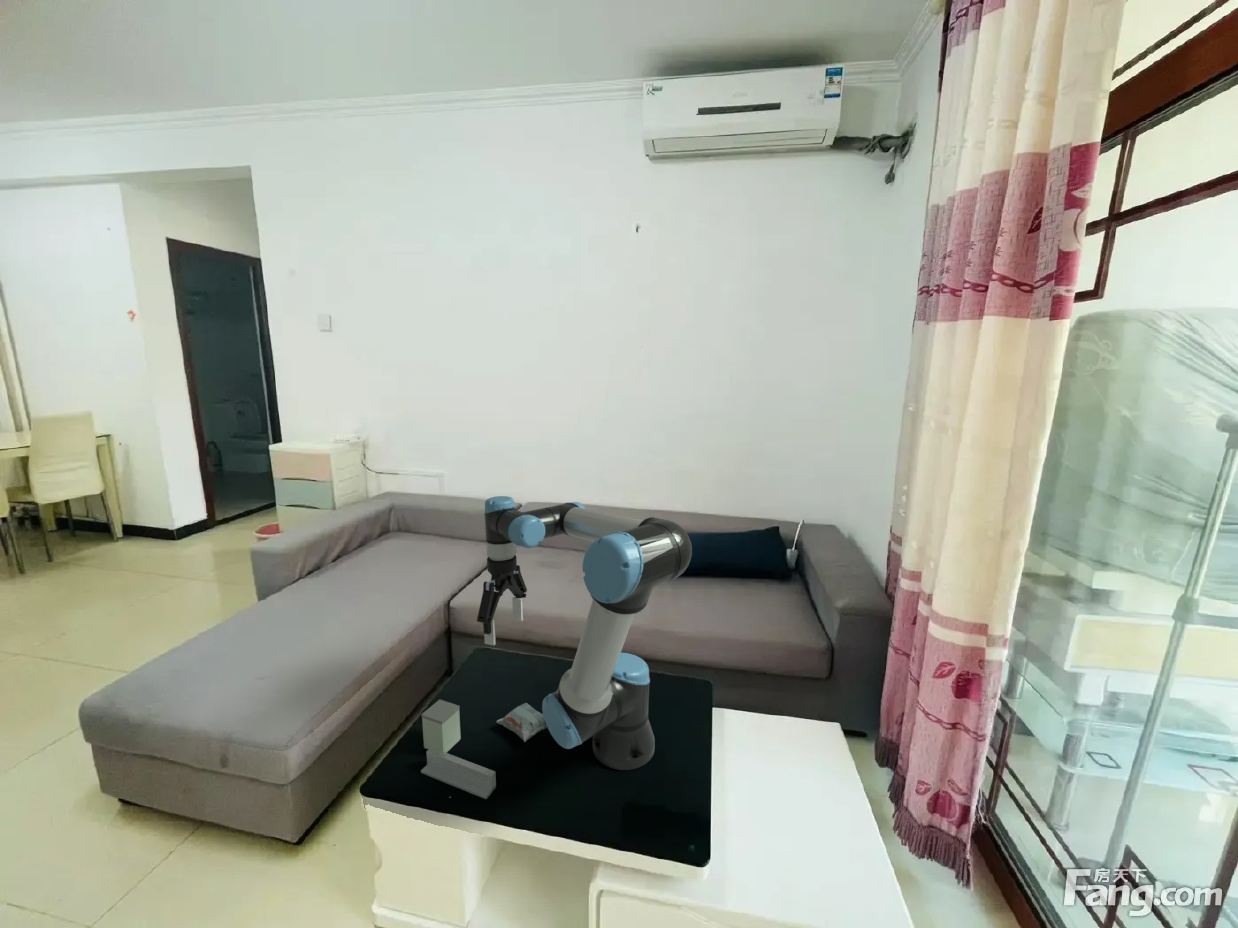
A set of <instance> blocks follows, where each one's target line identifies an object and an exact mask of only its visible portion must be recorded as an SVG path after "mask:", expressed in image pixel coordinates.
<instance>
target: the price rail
mask: <svg viewBox="0 0 1238 928" xmlns="http://www.w3.org/2000/svg"><path fill="white" fill-rule="evenodd" d="M420 773H421V774H422V775H426V776H427V777H430V778H433V779H435V780H437V781H440V782H442V783H444V784H447V785H449V786H452V787H454V788H457V789H460V790H462V791H464V792H466V793H469V794H471V795H474V796H476V797H480V798H482V799H484V800H487V799H488V798H489V797H490V795H491V794H492V793H493V791H495V789H496V788H497V779H496V771H495V770H493V769H491V768H490V769H489V768H487V767H485V766H482V765H479V764H477V763H474V762H471V761H468V760H466V759H463V758H461V757H459V756H457V755H453V754H450V753H448V752H447V753H445V752H443V751H440V750H437V749H435V748H432V747H431V748H430V749H429V750H428V749H427V750H426V766H424V767H423V768H422V769H421V770H420Z"/></svg>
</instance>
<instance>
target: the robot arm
mask: <svg viewBox="0 0 1238 928" xmlns="http://www.w3.org/2000/svg"><path fill="white" fill-rule="evenodd" d="M483 515H484V525H485V528H484V529H485V541H486V542H485V543H486V556H487V558H486V566H487V567H486V569H487V572H488V573H489V574H490V575H491V576H490V577H491V578H490V580H489V581H484V582H483V584H482V585H483V587H482V589H483V591H482V595H481V600H480V605H479V609H478V614H477V618H476V622H478V623H481V624H483V625H482V627H483V634H484V638H483V639H484V644H485V645H490V646H495V645H496V629H495V628H496V626H495V625H496V623H495V620H494V619H493V618H494V615H495V614H496V610H497V607H498V604H499V601H500V598H501V597H503V595H504V592H505V591H506V590H509V591H510V592H511V594H512V595H513V597H512V598H511V599H512V601H511V602H512V621H517V622H523V621H524V614H523V613H524V612H523V611H524V610H523V609H524V608H523V599H526V597H527V594H526V593H527V591H528V589H527V586H526V583H525V581H524V578H523V575H522V573H521V566H520V565H519V564H517V563H518V561H517V555H516V554H517V546H518V547H520V546H521V548H527V549H532V548H535V547H537V546H538V545H539V544H541V543H542V542H543V540H545V539H548V538H551V537H552V538H553V537H556V536H560V535H561V536H562V535H566V536H569V537H574V538H577V539H581V540H585V541H588V542H591V543H590V545H589V546H588V548H587V549H586V551H585V553H584V557H583V559H582V560H583V561H582V572H583V573H584V576H583V582H584V584H585V587H586V589H587V591H588V592H589V595H590V597H591V599H592V602H591V604H590V608H589V611H588V615H587V617H586V621H585V623H584V626H583V629H582V634H581V637H580V640H579V644H578V646H577V650H576V653H575V656H574V660H573V662H572V666H571V668H569V669H567V671H565V672H564V674H563V675H562V677H561V678H560V681H559V684H558V687H557V690H556V691H554V692H552V693H549V694H548V695H547V696H544V698H543V700H542V704H541V705H542V707H541V709H542V714H543V716H544V719H545V722H546V725H547V729H548V731H549V733H550V735H551V736H552V738H553V740H554V741H555V742H556V743H557V744H558V745H559V746H561V747H562V748H564V749H566V750H570V749H573V748H574V747H577V746H579V745H580V746H581V745H582V744H583V743H584V742H585V741H587V740H589V739H591V738H592V752H593V754H594V756H595V758H596V759H597V760H598V761H599V762H600V763H601V764H602V765H604V766H606V767H608V768H611V769H614V770H617V771H618V770H619V771H630V770H636V769H638V768H641V767H643V766H645V765H646V764H647V763H648V762H649V761H651V759H652V758H653V756H654V753H655V748H656V747H655V746H656V745H655V743H656V742H655V741H656V740H655V736H654V733H653V729H652V726H651V723H650V720H649V705H650V703H649V702H650V683H651V678H650V668H649V666H648V664H647V662H646V661H645V660H644V659H643V658H641V657H639V656H637V655H635V654H632V653H628V652H627V653H626V652H622V650H623V647H624V645H625V642H626V640H627V636H628V633H629V630H630V628H631V626H632V623H633V619H634V617H635V615H637V614H639V613H642V611H644V610H645V608H646V607H647V604H648V602H649V599H650V597H651V594H652V592H653V590H654V589H655V588H656V587H657V586H660V585H662V584H665V583H668V582H670V581H673V580H675V579H677V578H678V577H680V576H681V575H682V574H684V573H685V571H686V570H687V568H688V567H689V564H690V562H691V560H692V556H693V546H692V542H691V539H690V536H689V534H688V533H687V531H686V530H685V529H684V528H683V527H682V526H681V525H680V524H678V523H676V522H675V521H671V520H668V519H664V518H658V517H653V516H649V517H645V518H644V519H638V518H633V517H628V516H623V515H620V514H619V515H618V514H614V513H609V512H604V511H599V510H594V509H589V508H586V507H585V505H583V504H582V503H581V502H580V501H573V502H572V501H571V502H565V503H562V504H557V505H552V506H548V507H543V508H542V507H541V508H539V509H538V508H537V509H533V510H527V511H519V510H517V509H516V504H515V500H514V498H513V497H511V496H508V495H507V496H506V495H497V496H492V497H489V498H487V499H486V500H485V501H484V513H483Z"/></svg>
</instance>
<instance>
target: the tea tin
mask: <svg viewBox="0 0 1238 928" xmlns="http://www.w3.org/2000/svg"><path fill="white" fill-rule="evenodd" d="M460 709H461V708H460V705H459V704H458V705H457V704H455V703H452V702H449V701H447V700H446V701H445V700H443V699H438V700H437V701H436V702H435V703H434V704H432V705H431V706H430V707H429V708H427V709H426V710H425V711H424V712H422V714H421V713H420V714H421V718H422V719H421V720H422V736H423V737H422V738H423V748H424V749H427V751H428V750H429V749H430V748H431V747H432V748H435V749H437V750H440V751H443V752H445V753H448V752H449V751H450V750H451V749H452V748H453V747H454V746H455V745H456V744H458V742H459V741H460V740H461V739H462V737H461V721H460V720H461V719H460Z"/></svg>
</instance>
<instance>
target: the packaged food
mask: <svg viewBox="0 0 1238 928" xmlns="http://www.w3.org/2000/svg"><path fill="white" fill-rule="evenodd" d="M496 723H497V724H499V725H502V726H503V727H504V728H506V729H507V730H509V731H512V732H513V733H514V734H516V735H517V736H518V737H519V738H520V739H521V740H523V742H524V743H526V742H527V741H528V740H530V739H531V738H532V737H534V736H536V734H537V733H539V732H541V731H543V730H545V729H548V727H547V725H546V722H545V719H544V716H543V713H541V712H540V711H538V710H536V709H535V708H534V707H532V705H530V704H528V702H525V703H522V704H520V705H518V706H516V707H515V708H513V709H512V710H511V711H510V712H509V713H507V714H506V715H505V716H504V717H502V718H500V719H497V720H496Z"/></svg>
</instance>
